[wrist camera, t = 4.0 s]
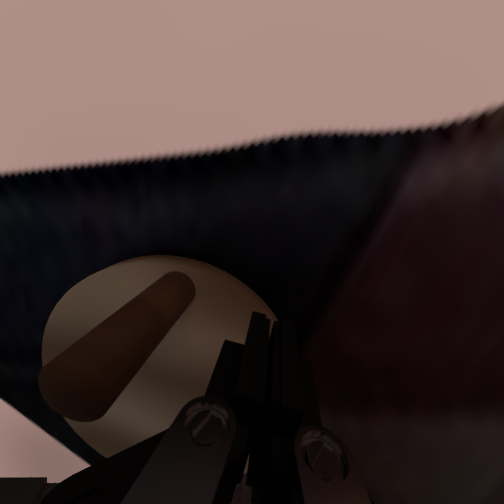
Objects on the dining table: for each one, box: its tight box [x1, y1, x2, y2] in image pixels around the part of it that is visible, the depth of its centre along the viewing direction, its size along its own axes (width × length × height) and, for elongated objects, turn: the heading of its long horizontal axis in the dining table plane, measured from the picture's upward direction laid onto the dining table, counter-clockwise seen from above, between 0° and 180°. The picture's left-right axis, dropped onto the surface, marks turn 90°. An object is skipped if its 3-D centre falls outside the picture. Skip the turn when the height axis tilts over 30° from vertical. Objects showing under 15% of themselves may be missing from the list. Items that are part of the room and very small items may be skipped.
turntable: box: [38, 255, 278, 474], centre depth 11 cm, size 14×14×8 cm
